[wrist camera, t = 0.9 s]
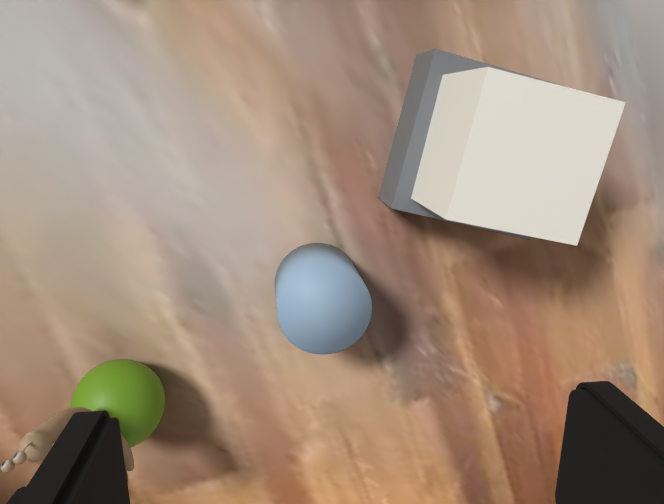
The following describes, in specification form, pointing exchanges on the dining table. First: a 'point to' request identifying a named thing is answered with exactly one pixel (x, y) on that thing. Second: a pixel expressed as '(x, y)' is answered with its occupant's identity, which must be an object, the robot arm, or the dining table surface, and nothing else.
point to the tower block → (515, 153)
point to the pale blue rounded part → (321, 299)
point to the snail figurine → (104, 394)
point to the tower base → (421, 130)
